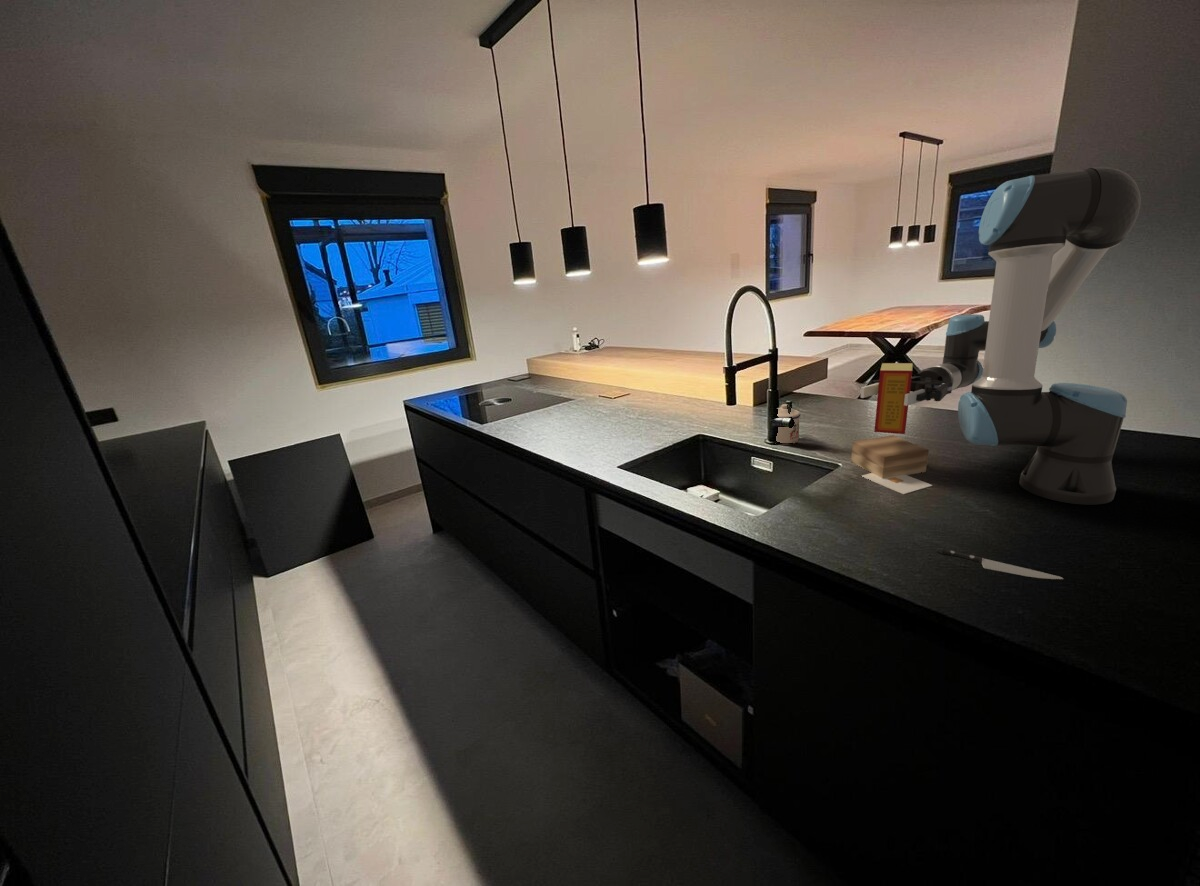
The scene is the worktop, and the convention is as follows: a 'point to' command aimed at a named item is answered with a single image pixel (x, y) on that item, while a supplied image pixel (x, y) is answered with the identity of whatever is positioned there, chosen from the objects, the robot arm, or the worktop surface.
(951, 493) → the worktop surface
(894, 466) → the base brick
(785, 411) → the teacup with lid
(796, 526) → the worktop surface
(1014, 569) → the chef's knife
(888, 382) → the baking soda box
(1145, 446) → the worktop surface
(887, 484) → the page
